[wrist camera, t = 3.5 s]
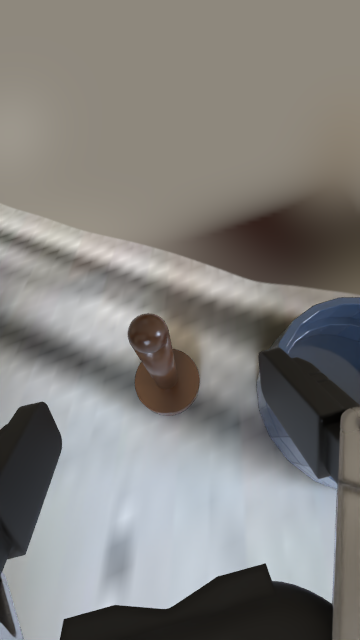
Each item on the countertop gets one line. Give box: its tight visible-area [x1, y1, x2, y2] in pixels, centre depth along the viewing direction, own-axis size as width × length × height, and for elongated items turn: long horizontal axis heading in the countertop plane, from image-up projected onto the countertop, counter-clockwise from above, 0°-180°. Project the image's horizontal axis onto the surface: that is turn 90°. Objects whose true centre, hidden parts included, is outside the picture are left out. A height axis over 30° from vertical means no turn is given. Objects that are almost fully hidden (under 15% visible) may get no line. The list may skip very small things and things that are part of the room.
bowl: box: [257, 297, 360, 489], centre depth 20 cm, size 13×13×6 cm
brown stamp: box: [128, 313, 200, 416], centre depth 17 cm, size 5×5×13 cm
